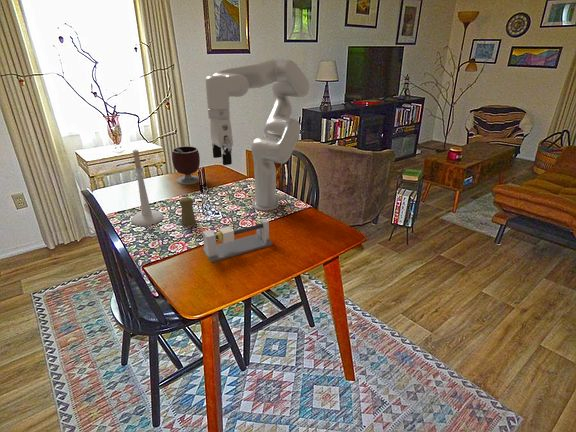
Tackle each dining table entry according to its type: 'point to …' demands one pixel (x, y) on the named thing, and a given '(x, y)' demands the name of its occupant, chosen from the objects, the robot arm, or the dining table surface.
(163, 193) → the dining table surface
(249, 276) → the dining table surface
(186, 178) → the mate gourd
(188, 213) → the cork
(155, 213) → the candlestick
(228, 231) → the sleeve
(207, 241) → the grey rod stand
